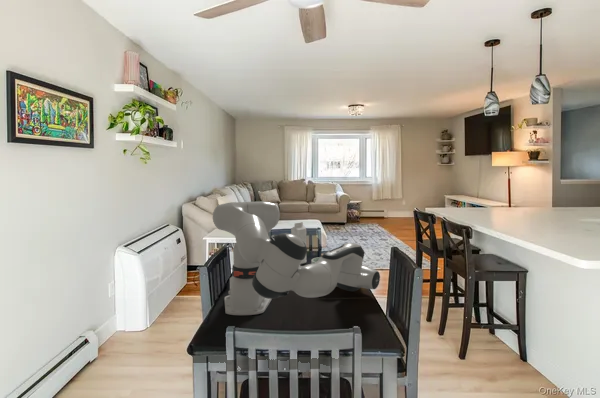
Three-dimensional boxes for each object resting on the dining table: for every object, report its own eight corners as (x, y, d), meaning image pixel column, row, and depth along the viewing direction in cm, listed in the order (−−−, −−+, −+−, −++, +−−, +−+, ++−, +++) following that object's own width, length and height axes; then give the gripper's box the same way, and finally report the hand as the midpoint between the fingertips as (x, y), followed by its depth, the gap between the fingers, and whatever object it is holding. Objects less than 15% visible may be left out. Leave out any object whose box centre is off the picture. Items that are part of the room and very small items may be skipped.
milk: (306, 262, 195) (306, 222, 192) (298, 264, 190) (298, 224, 188) (299, 260, 199) (299, 221, 197) (290, 262, 195) (290, 222, 193)
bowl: (336, 273, 176) (337, 263, 175) (312, 273, 175) (312, 263, 175) (333, 266, 187) (333, 256, 187) (310, 266, 187) (310, 257, 187)
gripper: (329, 284, 147) (307, 276, 158) (362, 274, 160) (339, 267, 171) (330, 269, 147) (307, 262, 157) (362, 260, 160) (339, 254, 170)
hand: (324, 264), depth 164 cm, fingers open, 8 cm apart
